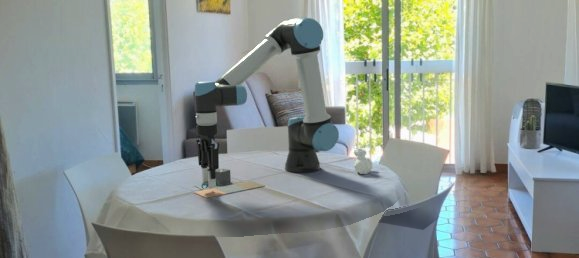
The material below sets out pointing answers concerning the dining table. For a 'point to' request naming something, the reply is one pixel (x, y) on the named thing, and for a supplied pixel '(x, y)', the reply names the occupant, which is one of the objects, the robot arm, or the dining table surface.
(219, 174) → the die
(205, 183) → the dragon figurine
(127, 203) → the dining table surface
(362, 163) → the duck figurine
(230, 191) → the game board
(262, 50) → the robot arm
